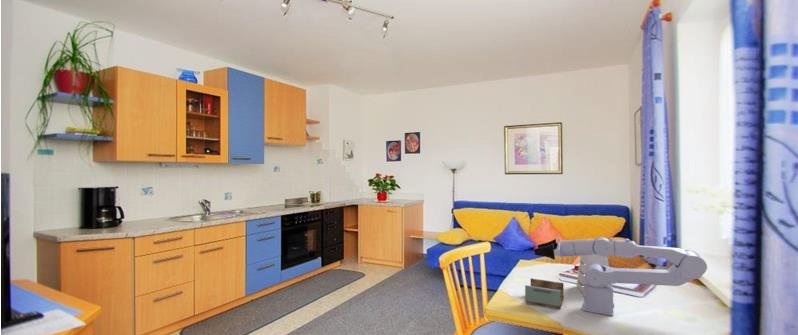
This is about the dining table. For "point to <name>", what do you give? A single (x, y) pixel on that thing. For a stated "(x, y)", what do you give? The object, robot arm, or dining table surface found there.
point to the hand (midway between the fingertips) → (536, 249)
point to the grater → (587, 260)
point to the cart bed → (550, 286)
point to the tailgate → (542, 295)
